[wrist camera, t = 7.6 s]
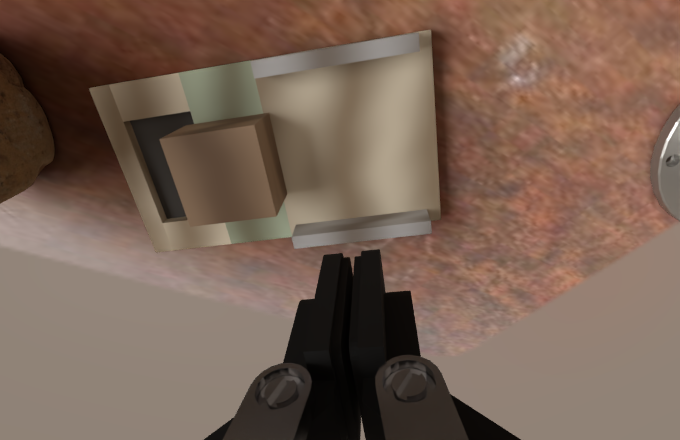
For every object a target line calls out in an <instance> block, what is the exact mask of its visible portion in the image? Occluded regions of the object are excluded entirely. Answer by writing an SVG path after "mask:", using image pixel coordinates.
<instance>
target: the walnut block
mask: <svg viewBox="0 0 680 440" xmlns="http://www.w3.org/2000/svg"><path fill="white" fill-rule="evenodd" d="M159 140H160V143H161V146H162V149H163V151H164V154H165V157H166V160H167V163H168V166H169V168H170V171H171V174H172V177H173V180H174V183H175V185H176V188H177V191H178V194H179V197H180V200H181V202H182V205H183V208H184V211H185V214H186V217H187V219H188V222H189V225H190V227H194V226H202V225H210V224H218V223H227V222H235V221H243V220H252V219H260V218H268V217H277V215H278V213H279V211H280V208H281V206H282V204H283V202H284V200H285V198H286V196H287V190H286V186H285V181H284V177H283V172H282V168H281V164H280V159H279V155H278V150H277V146H276V141H275V137H274V133H273V128H272V124H271V119H270V115H269V113H263V114H257V115H250V116H244V117H237V118H230V119H224V120H217V121H211V122H204V123H198V124H191V125H186V126H184V127H182V128H180V129H178V130H176V131H174V132H172V133H170V134H168V135H166V136H164V137H162V138H160V139H159Z"/></svg>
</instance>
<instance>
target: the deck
mask: <svg viewBox="0 0 680 440" xmlns="http://www.w3.org/2000/svg"><path fill="white" fill-rule="evenodd" d="M89 90H90V93H91V95H92V98H93V100H94V103H95V105H96V108H97V110H98V112H99V115H100V117H101V120H102V122H103V125H104V127H105V130H106V132H107V134H108V137H109V139H110V142H111V144H112V147H113V149H114V152H115V154H116V156H117V159H118V161H119V164H120V166H121V169H122V171H123V174H124V176H125V178H126V181H127V183H128V186H129V188H130V191H131V193H132V196H133V198H134V200H135V203H136V205H137V208H138V210H139V213H140V215H141V218H142V220H143V222H144V225H145V227H146V230H147V232H148V235H149V237H150V240H151V242H152V244H153V247H154V249H155V252H156V253H157V252H165V251H174V250H183V249H191V248H200V247H209V246H217V245H226V244H235V243H243V242H252V241H261V240H269V239H278V238H286V237H292V241H293V245H294V249H297V248H306V247H315V246H324V245H333V244H342V243H351V242H359V241H368V240H377V239H386V238H395V237H404V236H413V235H422V234H431V233H432V231H431V221H434V220H441V212H440V192H439V173H438V154H437V135H436V116H435V97H434V78H433V59H432V40H431V30H425V31H419V32H413V33H408V34H402V35H396V36H390V37H384V38H378V39H373V40H367V41H361V42H355V43H349V44H343V45H337V46H332V47H326V48H320V49H314V50H308V51H302V52H296V53H291V54H285V55H279V56H273V57H267V58H261V59H255V60H250V61H244V62H238V63H232V64H226V65H220V66H215V67H209V68H203V69H197V70H191V71H185V72H179V73H174V74H168V75H162V76H156V77H150V78H144V79H138V80H133V81H127V82H121V83H115V84H109V85H103V86H97V87H92V88H89ZM263 113H269V115H270V119H271V124H272V128H273V133H274V137H275V141H276V146H277V150H278V155H279V159H280V164H281V168H282V172H283V177H284V181H285V186H286V190H287V196H286V198H285V200H284V202H283V204H282V206H281V208H280V211H279V213H278V215H277V217H268V218H260V219H252V220H243V221H235V222H227V223H218V224H210V225H202V226H194V227H190V225H189V222H188V219H187V217H186V214H185V211H184V208H183V205H182V202H181V200H180V197H179V194H178V191H177V188H176V185H175V183H174V180H173V177H172V174H171V171H170V168H169V166H168V163H167V160H166V157H165V154H164V151H163V149H162V146H161V143H160V140H159V139H160V138H162V137H164V136H166V135H168V134H170V133H172V132H174V131H176V130H178V129H180V128H182V127H184V126H186V125H191V124H198V123H204V122H211V121H217V120H224V119H230V118H237V117H244V116H250V115H257V114H263Z"/></svg>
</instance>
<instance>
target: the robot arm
mask: <svg viewBox="0 0 680 440" xmlns="http://www.w3.org/2000/svg"><path fill="white" fill-rule="evenodd" d="M650 179H651V184H652V189H653V193H654V195H655V196H656V198H657V200H658V202H659V204H660V205H661V206H662V207H663V209H664V210H665V211H666V212H667V213H668V214H669V215H671V216H672V217H674V218H675V219H677V220H679V221H680V104H679V105H678V107H677V108H676V109H675V110H674V111H673V113H672V114H671V116H670V117H669V119H668V120H667V122H666V124H665V125H664V127H663V128H662V130H661V133H660V135H659V137H658V139H657V142H656V144H655V146H654V151H653V155H652V159H651V168H650ZM361 418H362V423H363V428H364V433H365V438H366V440H521V439H519V438H517V437H516V436H514V435H513V434H511V433H509V432H508V431H506V430H505V429H503V428H502V427H500V426H499V425H497V424H496V423H494V422H493V421H491V420H489V419H488V418H486V417H485V416H483V415H482V414H480V413H479V412H477V411H475V410H474V409H472V408H471V407H469V406H468V405H466V404H465V403H463V402H462V401H460V400H459V399H457V398H455V397H454V396H452V395H451V394H450V393H449V390H448V388H447V385H446V383H445V380H444V378H443V376H442V373H441V372H440V370H439V369H438V367H437V366H436V365H435V364H433V363H432V362H431V361H430V360H427V359H425V358H423V357H421V355H420V349H419V342H418V336H417V330H416V323H415V317H414V310H413V304H412V298H411V292H410V291H400V292H388V293H385V285H384V278H383V270H382V262H381V255H380V249H379V250H369V251H361V256H357V257H355V260H354V275H353V272H352V266H351V261H350V257H347V258H344V257H343V254H342V253H339V254H329V255H324V256H323V261H322V265H321V270H320V275H319V280H318V284H317V289H316V294H315V299H307V300H301V301H300V302H299V305H298V309H297V312H296V316H295V320H294V324H293V328H292V332H291V335H290V339H289V343H288V347H287V351H286V354H285V358H284V362H283V363H281V364H278V365H275V366H272V367H270V368H268V369H266V370H264V371H263V372H262V373H261V374H259V375H258V376H257V377H256V378H255V380H254V381H253V383H252V384H251V385H250V387H249V389H248V391H247V393H246V395H245V397H244V399H243V401H242V403H241V405H240V407H239V409H238V411H237V413H236V415H235V417H234V418H232V419H231V420H230V421H228V422H227V423H226V424H224V425H223V426H222V427H220V428H219V429H218V430H216V431H215V432H213V433H212V434H211V435H209V436H208V437H207V438H205V439H204V440H360V431H361V430H360V429H361Z"/></svg>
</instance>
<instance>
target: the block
mask: <svg viewBox="0 0 680 440" xmlns="http://www.w3.org/2000/svg"><path fill="white" fill-rule="evenodd" d="M54 155H55V148H54V141H53V137H52V133H51V130H50V127H49V124H48V121H47V118H46V115H45V113H44V111H43V109H42V107H41V106H40V105H39V103H38V102H37V100H36V99H35V98H34V97H33V95H32V94H31V93H30V91H28V90H27V89H25V88H24V86H23V80H22V78H21V76H20V75H19V74H18V72H17V71H16V69H15V68H14V66H13V65H12V63H11V62H10V61H9V60H8V59H7V58H5V57H4V56H3V55H2V54H0V203H2V202H4V201H6V200H8V199H10V198H12V197H14V196H15V195H17V194H19V193H21V192H23V191H24V190H26V189H27V188H28V187H30V186H31V185H32V184H33V183H34V181H35V179H36V178H37V176H38V174H39V172H40V171H41V170H42V169H43V168H44V167H45V166H46V165H48V164H49V163H51V162H52V161H53V158H54Z"/></svg>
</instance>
